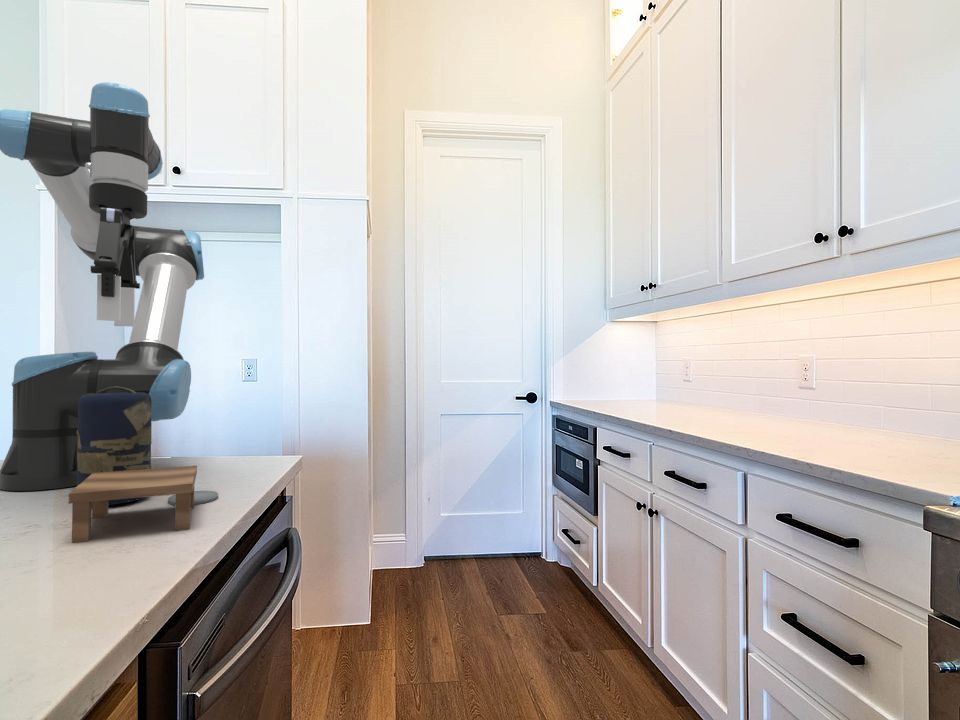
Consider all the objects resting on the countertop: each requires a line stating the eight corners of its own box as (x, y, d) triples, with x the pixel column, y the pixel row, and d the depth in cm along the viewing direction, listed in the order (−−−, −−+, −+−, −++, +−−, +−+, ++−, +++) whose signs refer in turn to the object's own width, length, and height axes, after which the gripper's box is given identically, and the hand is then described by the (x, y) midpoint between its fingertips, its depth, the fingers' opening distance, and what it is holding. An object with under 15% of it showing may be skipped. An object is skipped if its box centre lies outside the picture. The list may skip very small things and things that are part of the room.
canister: (112, 511, 76) (114, 388, 76) (59, 507, 77) (61, 387, 78) (164, 495, 85) (166, 385, 85) (116, 492, 87) (117, 384, 87)
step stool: (92, 515, 74) (92, 472, 74) (196, 504, 80) (196, 465, 80) (68, 543, 62) (68, 493, 62) (191, 529, 68) (192, 483, 68)
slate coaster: (170, 496, 84) (170, 493, 84) (218, 492, 87) (218, 488, 87) (165, 507, 78) (165, 503, 78) (218, 502, 81) (218, 498, 81)
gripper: (105, 206, 91) (104, 327, 91) (68, 155, 69) (65, 316, 68) (156, 212, 94) (154, 328, 94) (135, 166, 72) (133, 318, 72)
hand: (117, 323), depth 81 cm, fingers open, 13 cm apart
